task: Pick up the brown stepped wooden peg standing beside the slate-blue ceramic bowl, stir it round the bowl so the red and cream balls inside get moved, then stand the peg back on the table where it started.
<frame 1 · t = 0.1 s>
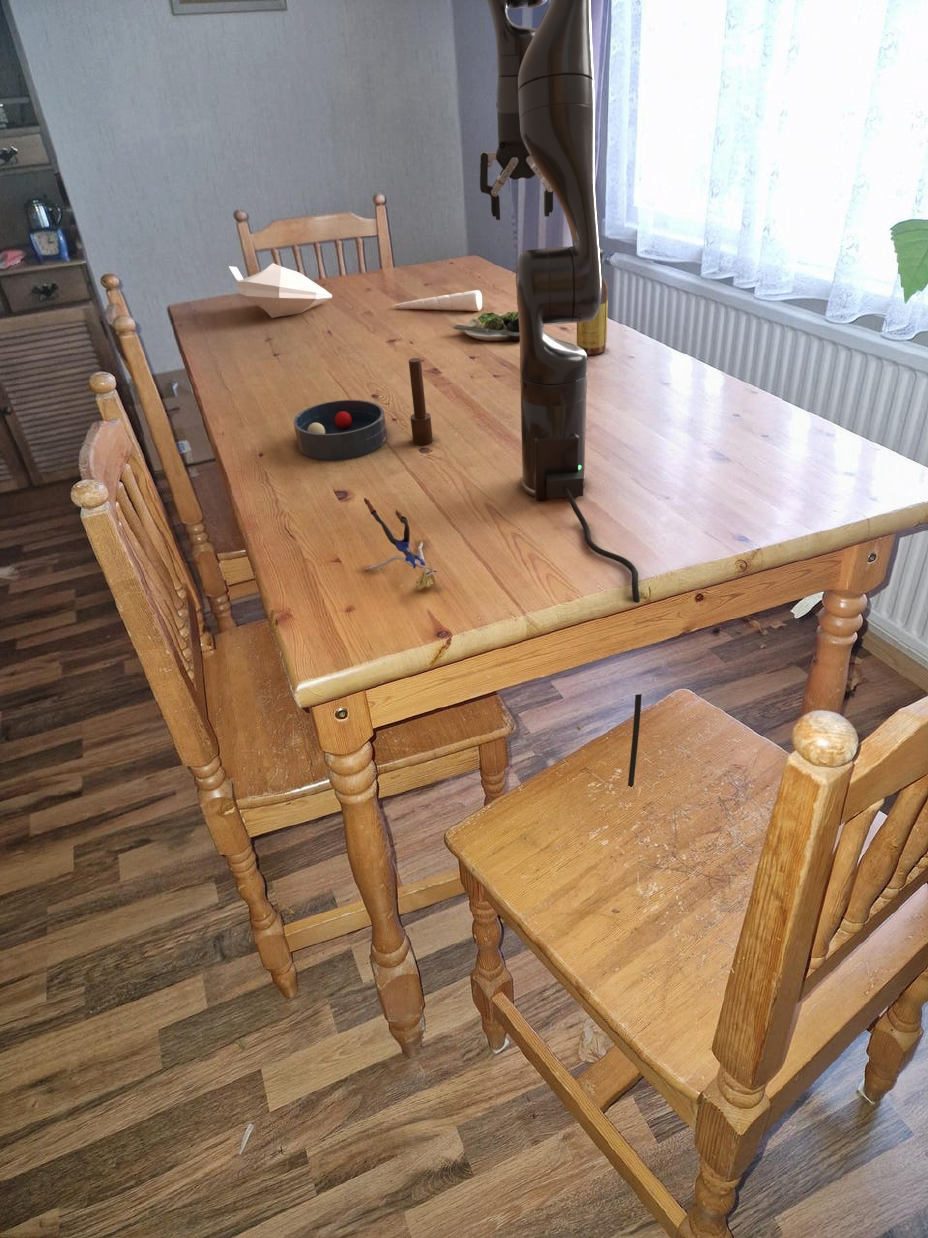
hand: (522, 217, 141), 29 cm above the table, tool pointing down, fingers open, 8 cm apart
red ball: (343, 419, 143), point 2 cm above the table, touching bowl
sauce bottle: (591, 352, 170), on the table
bowl: (342, 441, 141), on the table
unicorn horn: (439, 310, 203), on the table
brown stepped wooden peg: (422, 441, 138), on the table
figurine: (403, 572, 105), on the table
salad plate: (504, 332, 185), on the table
cream ball: (316, 431, 139), point 2 cm above the table, touching bowl
white faceted piece: (282, 312, 211), on the table
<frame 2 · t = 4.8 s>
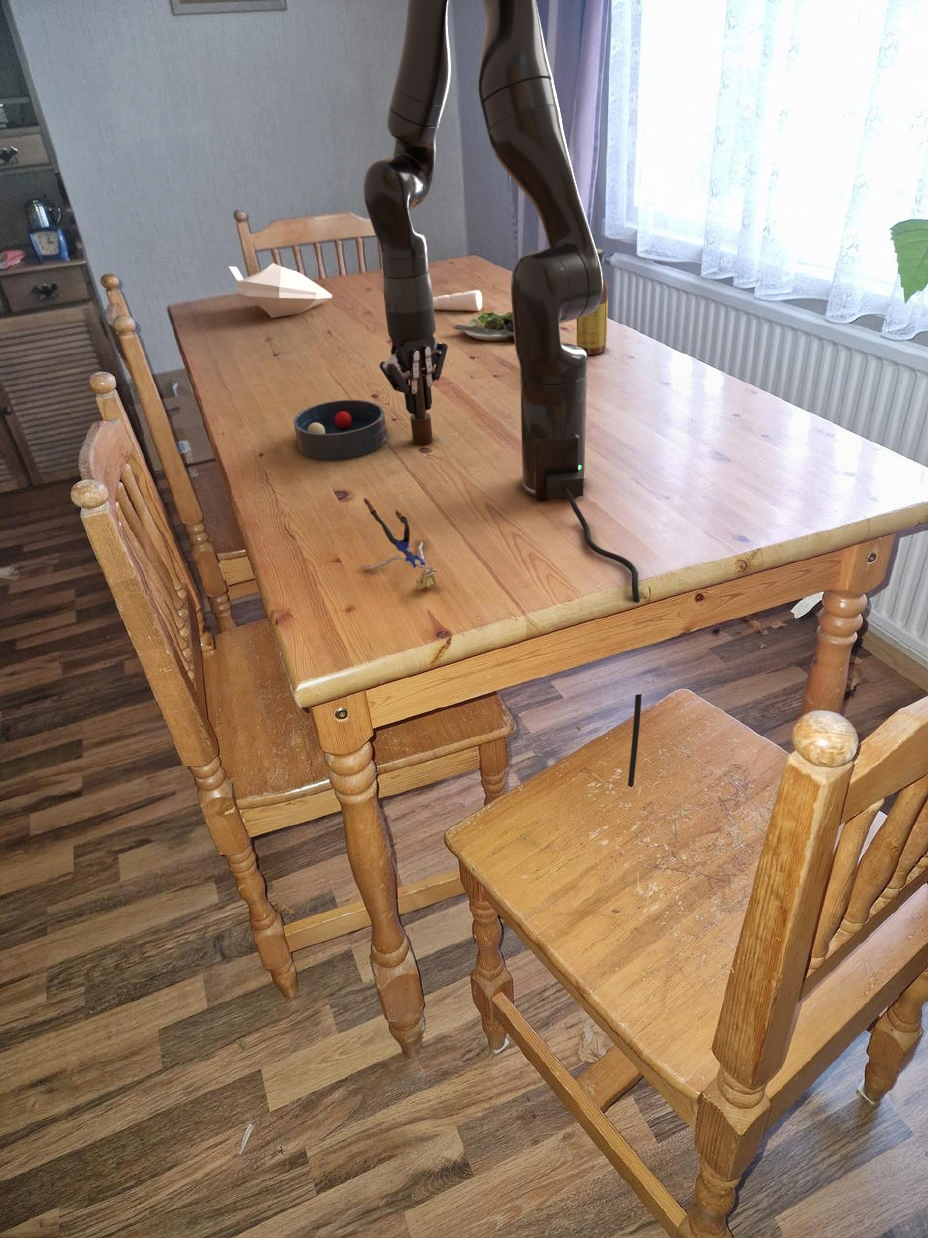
hand: (419, 410, 135), 5 cm above the table, tool pointing down, fingers closed on brown stepped wooden peg, 2 cm apart
brown stepped wooden peg: (422, 441, 138), on the table, touching gripper
everything else where it was.
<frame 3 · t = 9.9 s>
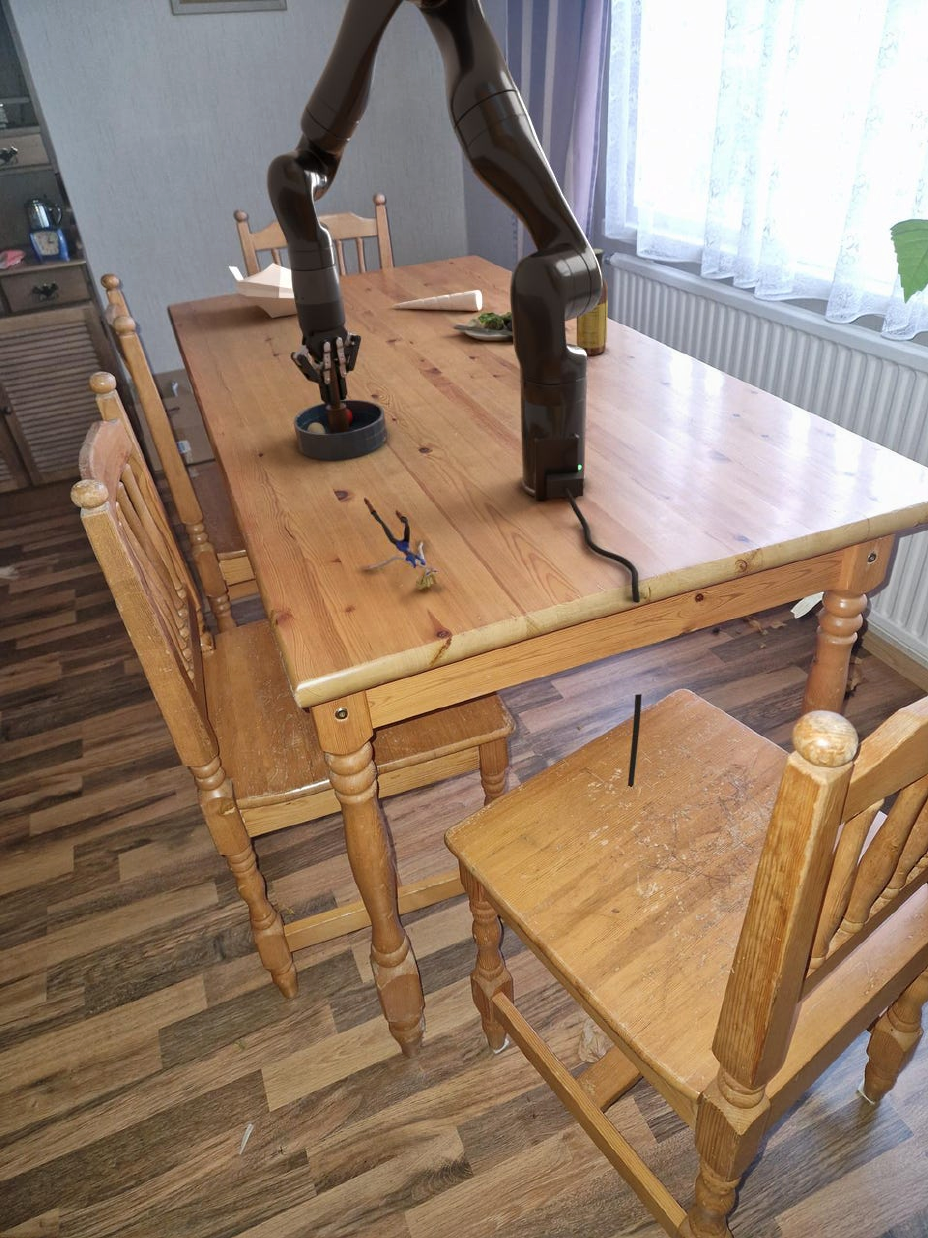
hand: (335, 400, 138), 7 cm above the table, tool pointing down, fingers closed on brown stepped wooden peg, 2 cm apart
red ball: (344, 416, 144), point 2 cm above the table, tilted 52°, touching bowl
brown stepped wooden peg: (340, 430, 141), point 1 cm above the table, touching gripper
everything else where it was.
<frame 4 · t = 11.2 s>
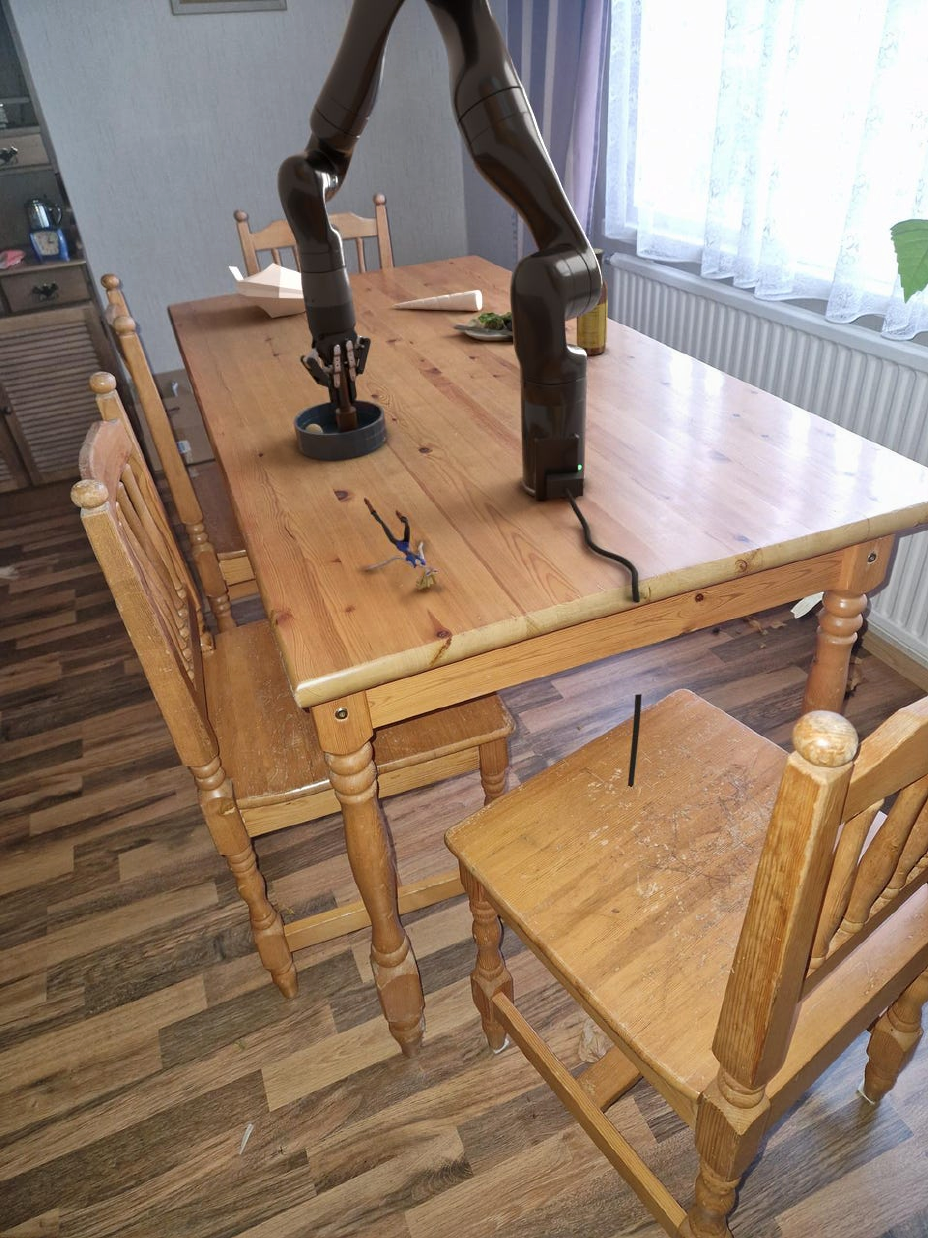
hand: (344, 404, 136), 7 cm above the table, tool pointing down, fingers closed on brown stepped wooden peg, 2 cm apart
red ball: (344, 417, 144), point 2 cm above the table, tilted 35°, touching bowl
brown stepped wooden peg: (349, 434, 140), point 1 cm above the table, touching gripper
cream ball: (313, 432, 139), point 2 cm above the table, tilted 21°, touching bowl
everything else where it was.
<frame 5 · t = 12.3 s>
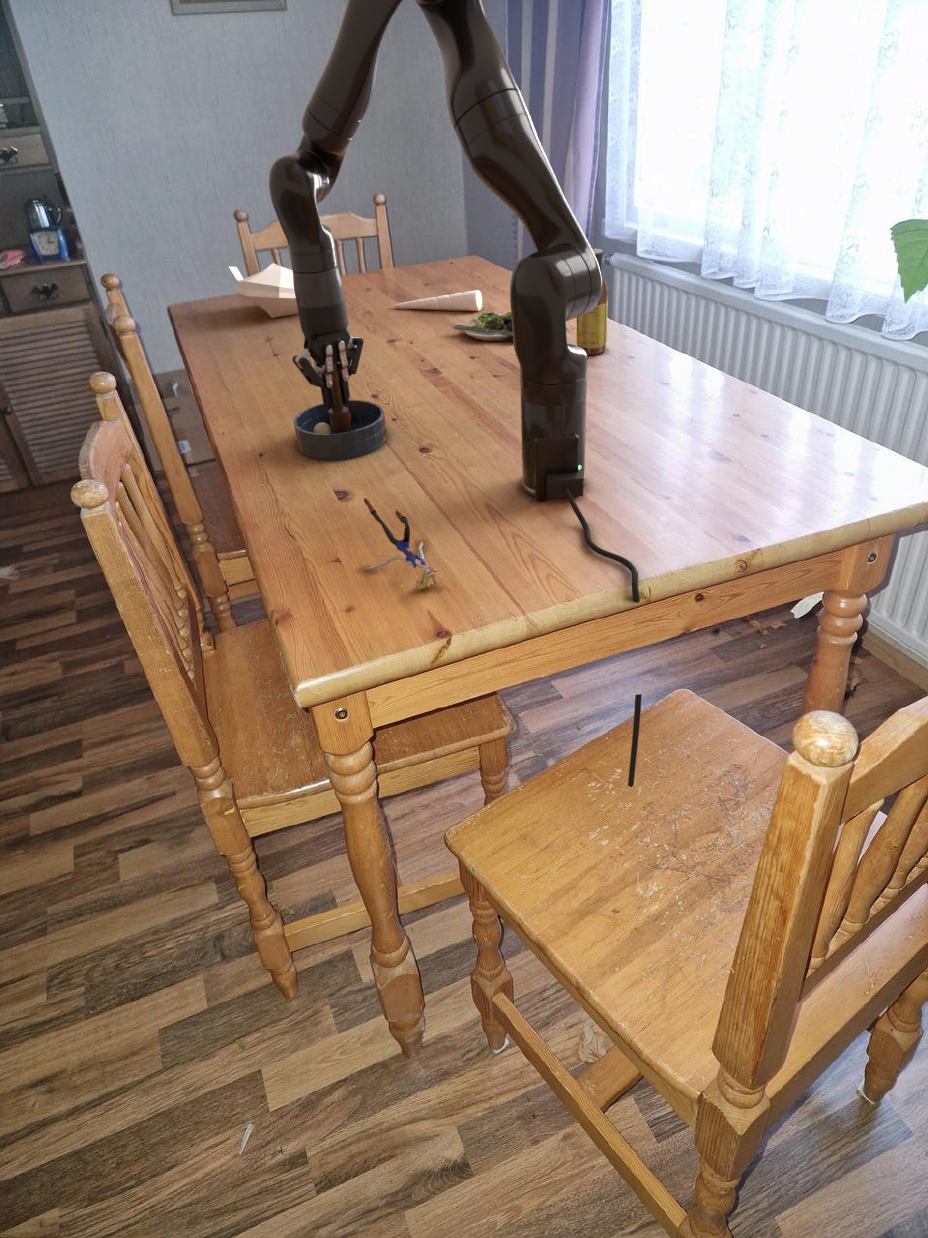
hand: (337, 404, 137), 7 cm above the table, tool pointing down, fingers closed on brown stepped wooden peg, 2 cm apart
red ball: (342, 417, 144), point 2 cm above the table, tilted 44°, touching bowl
brown stepped wooden peg: (342, 434, 140), point 1 cm above the table, touching gripper
cream ball: (322, 431, 139), point 2 cm above the table, tilted 42°, touching bowl
everything else where it was.
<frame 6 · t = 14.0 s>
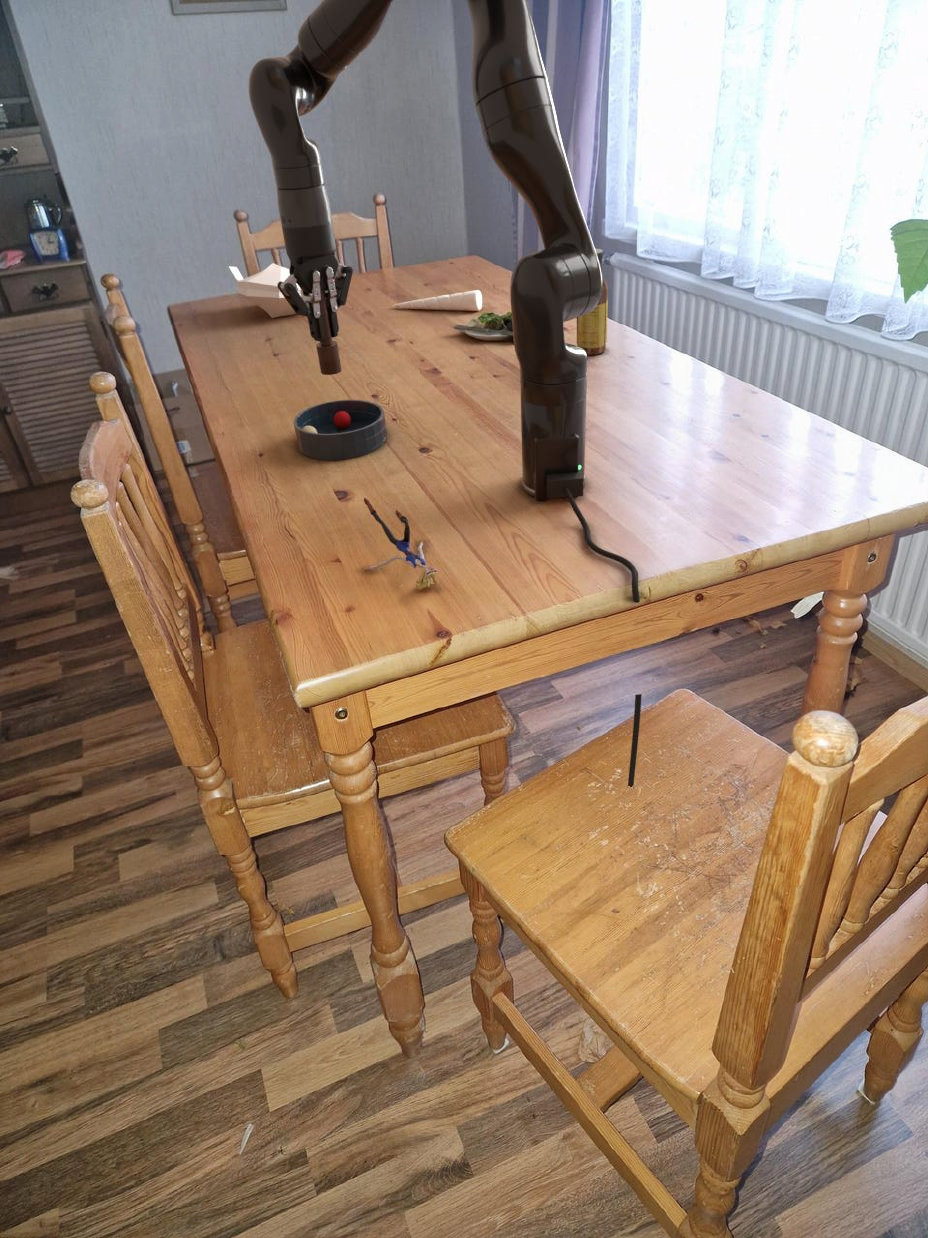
hand: (326, 337, 130), 18 cm above the table, tool pointing down, fingers closed on brown stepped wooden peg
red ball: (342, 419, 143), point 2 cm above the table, tilted 5°, touching bowl
brown stepped wooden peg: (331, 371, 133), point 12 cm above the table, touching gripper
cream ball: (308, 434, 138), point 2 cm above the table, tilted 59°, touching bowl
everything else where it was.
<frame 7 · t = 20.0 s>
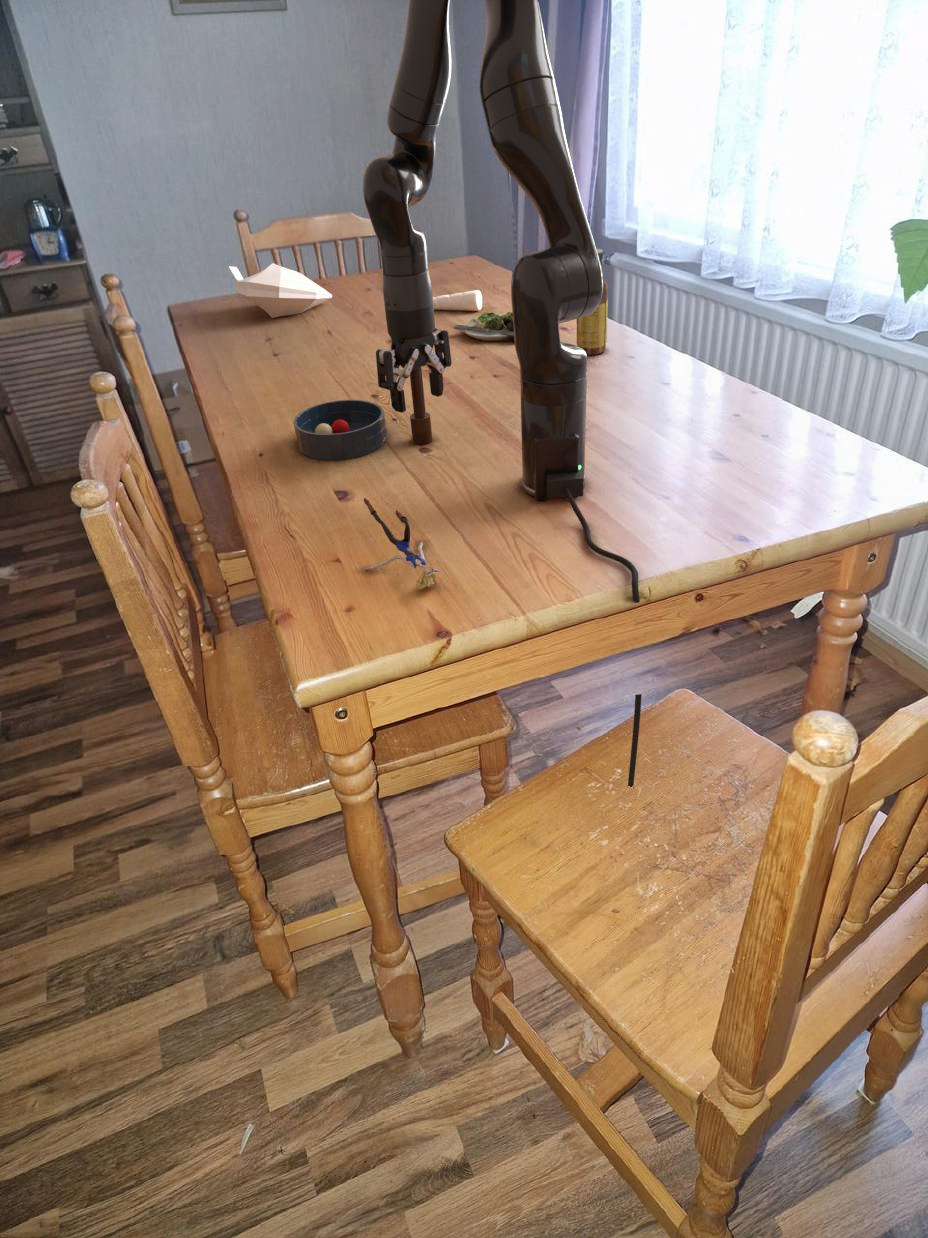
hand: (418, 402, 134), 7 cm above the table, tool pointing down, fingers open, 8 cm apart
red ball: (340, 428, 140), point 2 cm above the table, tilted 142°, touching bowl
brown stepped wooden peg: (422, 440, 138), on the table
cream ball: (323, 432, 139), point 2 cm above the table, tilted 52°, touching bowl
everything else where it was.
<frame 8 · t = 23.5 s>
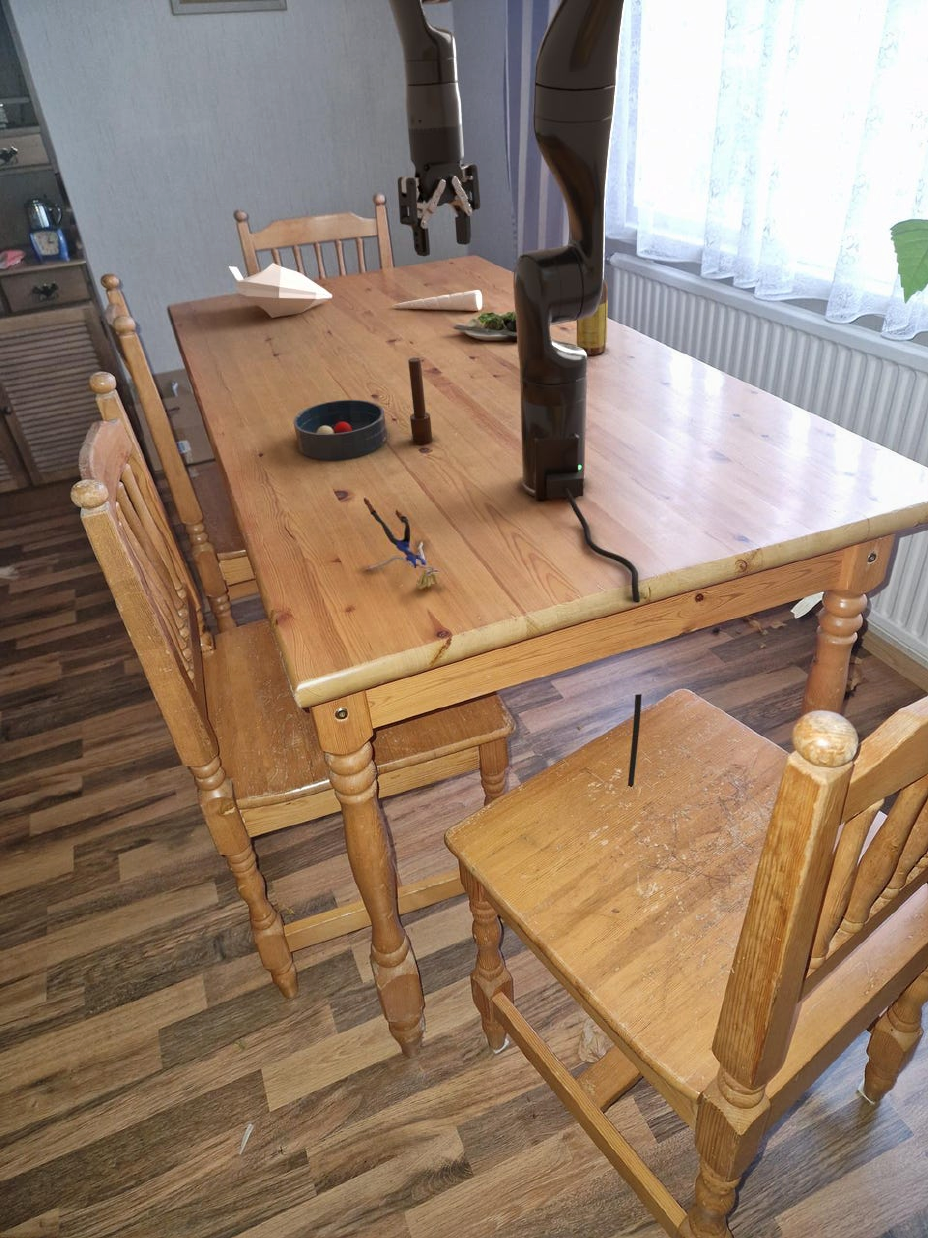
hand: (444, 249, 120), 30 cm above the table, tool pointing down, fingers open, 8 cm apart
red ball: (342, 430, 139), point 2 cm above the table, tilted 156°, touching bowl
cream ball: (325, 434, 138), point 2 cm above the table, tilted 86°, touching bowl
everything else where it was.
at the end: red ball moved 4.8 cm from its start; red ball inside the target area in the bowl (0.6 cm from its centre), point 2.1 cm above the bowl's base; brown stepped wooden peg 0.2 cm from the target spot, on the table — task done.
